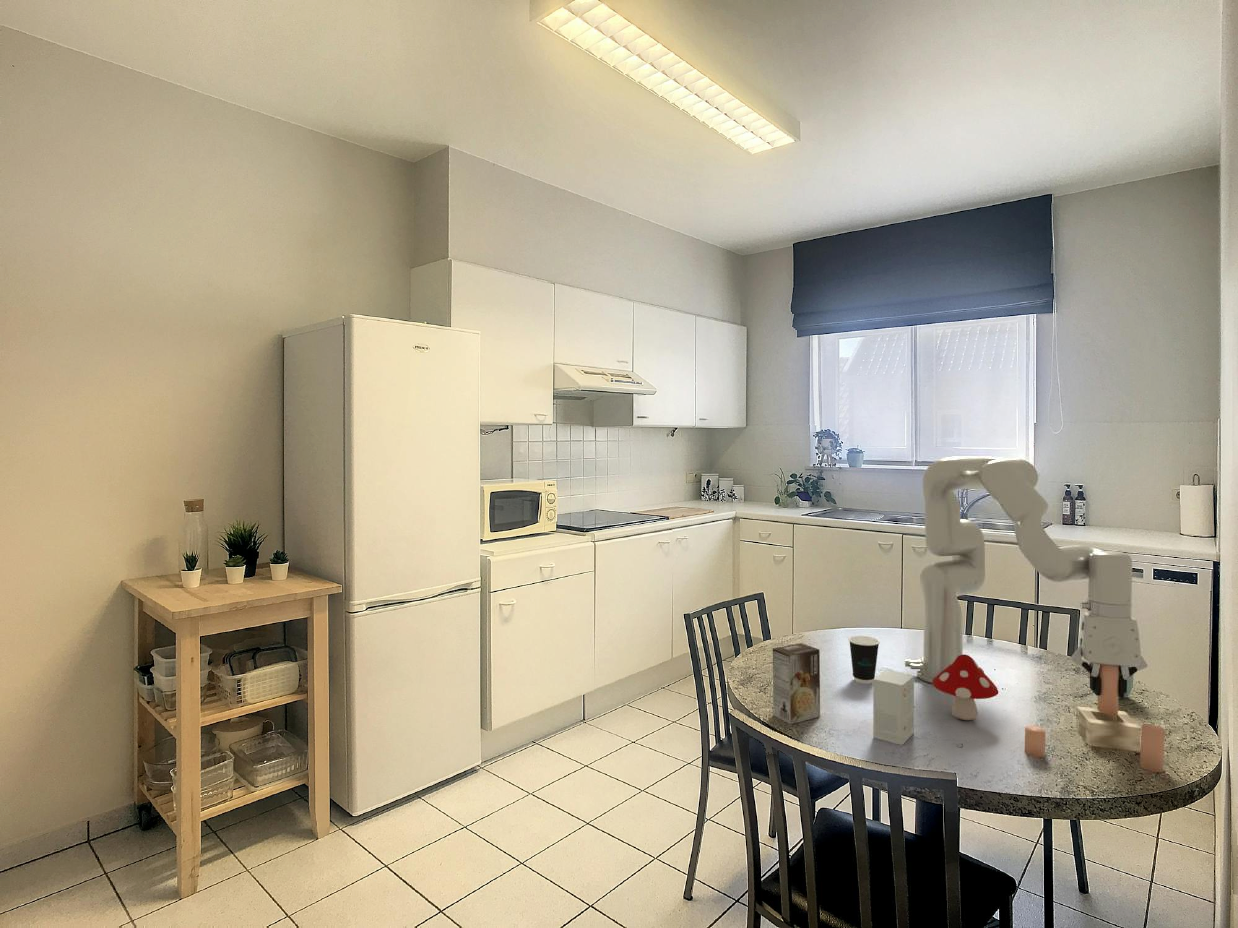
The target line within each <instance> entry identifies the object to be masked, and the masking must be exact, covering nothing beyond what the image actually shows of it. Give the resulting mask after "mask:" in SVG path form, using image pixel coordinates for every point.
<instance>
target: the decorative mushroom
mask: <svg viewBox="0 0 1238 928" xmlns="http://www.w3.org/2000/svg"><path fill="white" fill-rule="evenodd" d="M931 684H932V687H934V688H935V689H937V690H938V691H940V692H941V693H944V694H945V695H949V696H952V697H954V698H953V700H952V704H951V709H950V712H951V714H952V716H954V717H955V718H957V719H959V720H961V721H972V720H973V721H974V720H975V719H977V717H978V715H979V714H978V713H979V712H978V708H977V704H976V701H975V700H987V699H992V698H993V697H996V696H998V695H999V688H998V687H997V686H996V685H995V683H994V682H993V681H992V679H990V678H989V676H987V675H986V673H985V671H984V669H983V668H982V667H979V664H978V663H977V662H976V660H975V659H974V658H973V657H971V656H970V655H968V654H962V655H960V656H957V657H955V658H954V659H953V660H952V661H951V664H950V665H949V666H948V667H947V668H946V669H944V670H943V671H942V672H941V673H939V674H938V675H937V676H936V677H935V678H934V679H933V681H932V683H931Z"/></svg>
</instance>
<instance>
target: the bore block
mask: <svg viewBox="0 0 1238 928" xmlns="http://www.w3.org/2000/svg"><path fill="white" fill-rule="evenodd" d="M1075 721H1076V726H1075V729H1076V730H1077V731H1078V733H1079V735H1081V737H1082V739H1083V740H1084V741H1085V743H1086V744H1087V745H1088V746H1089V747H1097V748H1104V749H1112V750H1113V749H1114V750H1122V751H1129V752H1138V753H1141V727H1140V725H1138V724H1137V723H1136V722H1135V720H1133V719H1132V718H1131V717H1130V715H1129V714H1128V713H1127V712H1126V711H1122V710H1118V714H1116V715H1110V714H1105V713H1102V712H1099V711H1098V710H1097V708H1093V707H1084V706H1076V720H1075Z"/></svg>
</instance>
